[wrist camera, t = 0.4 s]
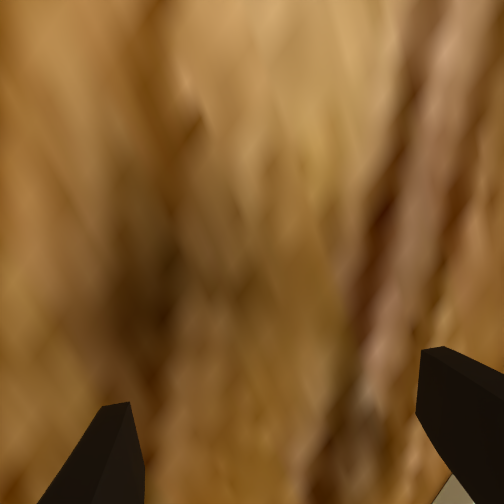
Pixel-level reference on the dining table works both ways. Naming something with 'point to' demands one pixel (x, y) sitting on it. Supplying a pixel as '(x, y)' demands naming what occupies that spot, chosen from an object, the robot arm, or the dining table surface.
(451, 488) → the tray
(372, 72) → the dining table surface
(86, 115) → the dining table surface
